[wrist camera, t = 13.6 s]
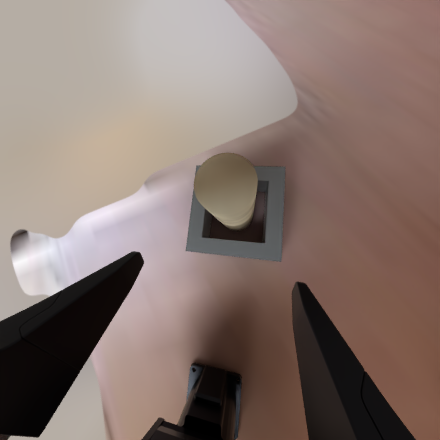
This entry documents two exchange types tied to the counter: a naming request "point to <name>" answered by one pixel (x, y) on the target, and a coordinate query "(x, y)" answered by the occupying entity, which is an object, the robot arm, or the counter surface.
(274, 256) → the frame
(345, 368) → the robot arm
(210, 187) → the birch peg
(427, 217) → the counter surface
